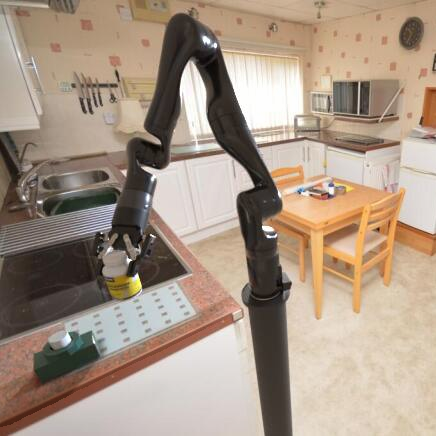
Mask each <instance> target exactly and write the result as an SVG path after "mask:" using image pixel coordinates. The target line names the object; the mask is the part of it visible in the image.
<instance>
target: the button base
mask: <svg viewBox="0 0 436 436" xmlns="http://www.w3.org/2000/svg"><path fill="white" fill-rule="evenodd" d="M67 332H68V334H69V336H70V338H71V340H72V341H71V343H70V344H69V345H68V346H66V347H64V348H62V349H60V350H53V349H52V347H51V345H50V344H49V342H48V341H47V342H46V343H44V346H42V350H40V351H37V352H35V353H33V363H32V364H33V368H32V369H33V372H34V374H35V375H36V377H37V378H38V380H39V381H40V383H41V384H44V383H46V382H48V381H50V380H52V379H54V378H57V377H59V376H62V375H64V374H66V373H68V372H70V371H72V370H74V369H77V368H78V367H81V366H83V365H86V364H87V363H89V362H91V361H94V360H96V359H98V358H101V351H100V347H99V342H98V340H97V338H96V336H95V334H94V332H93V330H92V329H91V330H89V331H86V332H84V333H81V334H80V333H79V332H76V331H67Z"/></svg>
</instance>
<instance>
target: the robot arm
mask: <svg viewBox="0 0 436 436" xmlns="http://www.w3.org/2000/svg"><path fill="white" fill-rule="evenodd" d="M158 62H159V64H158V69H157V77H156V82H155V88H154V92H153V95H152V98H151V101H150V103H149V107H148V109H147V112H146V115H145V117H144V121H143V126H142V127H143V129H144V131H145V132H147V133H148V134H149V135H151V136H153V137H154V138H156V139H157V140H159V142H160V143H158V142H155V141H152V140H149V139H147V138H144V137H142V136H133V137H131V138H130V139H128V141H127V142H126V145H125V159H126V172H125V173H126V174H125V179H124V182H123V185H122V189H121V192H120V194H119V196H118V198H117V202H116V205H115V209H114V212H113V214H112V219H111V221H110V224H111V228H110V230H109V231H108V232H100V231H97V232H96V233H95V236H94V239H93V245H92V248H91V256H92V257H95V258H97V259H98V261H97V265H96V267H95V268H96V269H95V273H96V276H98V277H104V276H103V273H102V270H103V268H104V266H105V264H104V262H103V257H104V256H105V255H106V254H108V253H110V252H113V251H119V250H121V251H125V250H126V251H127V252H128V253H129V256H130V257H129V258H130V260H132V261H130V262H129V266H128V270H127V274H126V276H127V277H135V275H137V273H138V274H139V269H140V265H141V262H143V261H145V260H146V261H148V260H150V259H151V256H152V253H153V251H154V247H155V244H156V241H157V236H154V235H152V234H150V233H147V234H146V233H145V232H146V231H147V228H148V224H149V220H150V217H151V213H152V208H153V203H154V197H155V193H156V189H157V185H158V179H157V177H156V176H155V175H154V174H152V173H151V172H149V171H147V170H145V169H144V168H142V166H144V167H147V168H150V169H154V170H157V171H163V170H166V169H168V167H169V165H170V163H171V158H172V141H173V136H174V133H175V131H176V128H177V126H178V123H179V122H180V121H179V120H180V118H181V116H182V110H183V95H182V79H183V75H184V72H185V69H186V67H187V65H188V63H189V62H191V63H193V65H194V66H195V68H196V70H197V71H198V73H199V76H200V78H201V80H202V83H203V85H204V88H205V115H206V120H207V123H208V125H209V128H210V130H211V133H212V135H213V138H214V140H215V142H216V143H217V145H218V147H219V148H220V149H221V150H222V151H223V152H224V153H225V154H227V155H228V156H229V157H230V158H231V159H232V160H233V161H235V162H236V163H237V164H238V165H239V166H240V167H242V168H243V170H244V171H245V172H246V174H247V176H248V177H249V179H250V181H251V183H252V185H253V187H250V188H247V189H245V190H241V191H240V192H238V194H237V195H236V199H235V209H236V214H237V220H238V223H239V224H238V225H239V231H240V234H241V237H242V240H243V242H244V243H243V244H244V245H243V246H244V252H245V260H246V269H247V277H248V282H249V284H248V286H249V288H250V295H251V297H252V298H253V299H255V300H258V301H269V300H272V299H274V298H276V297H277V296H278V295H279V294H281V293H283V291H286V290H289V289H290V290H292V285H293V282H292V280H291V279H290V278H289V276H288V274H287V273H286V271H283V266H282V264H281V263H280V262H281V261H280V247H279V234H278V231H277V230H276V229H275V228H273V227H271V226H265V225H263V223H264V222H266V221H268V220H270V219H273V218H275V217H277V216H279V215H280V214H281V213H282V212H283V209H284V203H283V198H282V195H281V193H280V190H279V187H278V186H277V184H276V182H275V180H274V178H273V176H272V174H271V172H270V170H269V168H268V166H267V164H266V163H265V160H264V157H263V156H262V153H261V150H260V149H259V146H258V145H257V142H256V140H255V139H256V138H255V137H254V134H253V132H252V128H251V126H250V123H249V120H248V119H247V115H246V113H245V111H244V109H243V107H242V104H241V102H240V99H239V97H238V95H237V92H236V89H235V87H234V84H233V82H232V80H231V78H230V74H229V72H228V71H229V70H228V68H227V64H226V60H225V58H224V54H223V51H222V47H221V44H220V41H219V39H218V37H217V35H216V34H215V32H214V31H213V29H211V28H210V27H209V26H208V25H206V24H204V23H203V22H201V21H200V20H198V19H197V18H195V17H194V16H192V15H190V14H188V13H187V12H177V13H175V14H173V15H172V16H171V17H170V18H169V20H168V21H167V23H166V26H165V30H164V34H163V39H162V44H161V51H160V57H159V61H158ZM142 242H143V243H142ZM141 243H142V246H140V244H141Z"/></svg>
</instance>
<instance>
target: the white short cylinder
mask: <svg viewBox="0 0 436 436" xmlns="http://www.w3.org/2000/svg"><path fill="white" fill-rule="evenodd" d="M68 332H69V331H67V330H59V331H57V332H55V333H53V334H52V335H50V336H49V337H48V339H47V342H49V344H50V345H51V347H52V349H53V350H60V349H62V348H64V347H66V346H68V345H69V344H70V343H71V341H72V340H71V338H70V336H69V334H68Z"/></svg>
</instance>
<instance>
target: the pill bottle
mask: <svg viewBox="0 0 436 436" xmlns="http://www.w3.org/2000/svg"><path fill="white" fill-rule="evenodd" d="M130 261H132V260H131V258H129V257H128V253H127V252H126V251H125V250H119V251H113V252H110V253H108V254H106V255H105V256H104V257H103V262H104V264H105V266H104V268H103V270H102V273H103V276H102V277H103V278H104V280H105V284H106V286H107V288H108V291H109V293H110V296H111V299H112V300H113V301H115V302H118V303H119V302H120V303H121V302H122V303H123V302H127V301H131V300H133V299H134V298H136V297H138V296H139V295H140V294H141V292H142V291H143V287H142V286H143V285H142V283H141V280H140V277H139V272H138V273H137V275H135V277H127V276H126V274H127V270H128V266H129V262H130Z"/></svg>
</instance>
